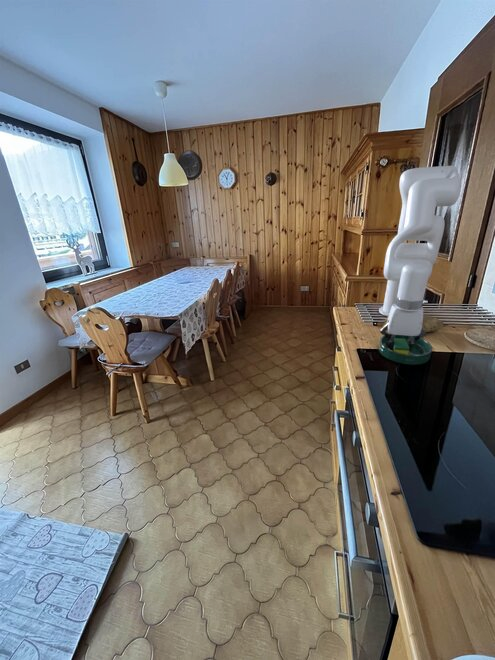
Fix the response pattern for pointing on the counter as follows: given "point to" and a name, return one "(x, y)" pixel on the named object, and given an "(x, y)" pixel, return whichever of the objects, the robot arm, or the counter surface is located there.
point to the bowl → (416, 355)
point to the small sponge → (401, 346)
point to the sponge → (429, 323)
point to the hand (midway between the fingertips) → (398, 350)
